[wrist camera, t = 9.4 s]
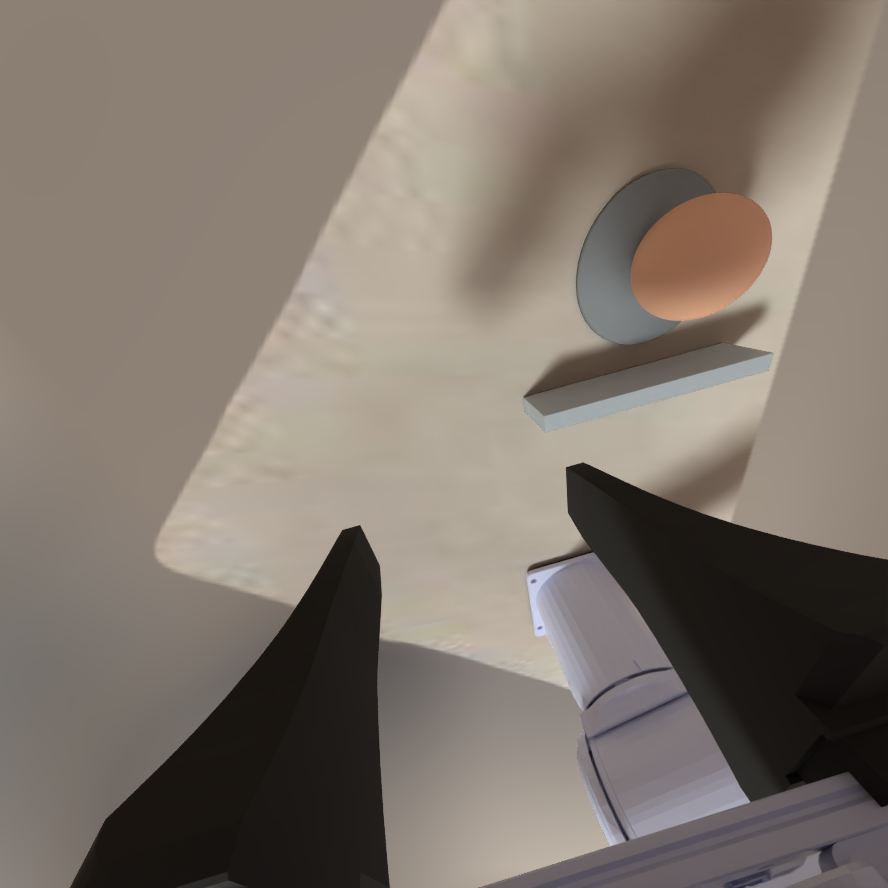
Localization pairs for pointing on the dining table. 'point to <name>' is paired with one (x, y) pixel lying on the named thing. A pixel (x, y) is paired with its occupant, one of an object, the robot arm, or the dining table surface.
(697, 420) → the dining table surface
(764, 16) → the dining table surface
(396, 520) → the dining table surface
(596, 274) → the pad
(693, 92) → the dining table surface
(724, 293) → the terracotta ball
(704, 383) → the acrylic wall
